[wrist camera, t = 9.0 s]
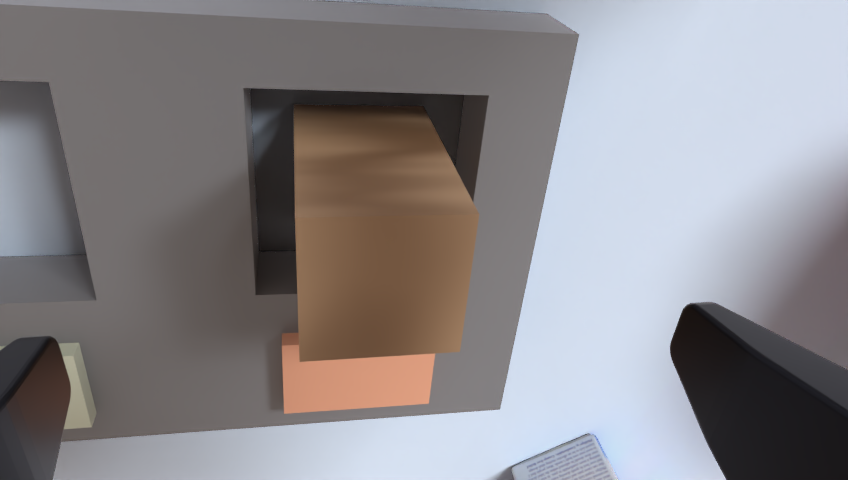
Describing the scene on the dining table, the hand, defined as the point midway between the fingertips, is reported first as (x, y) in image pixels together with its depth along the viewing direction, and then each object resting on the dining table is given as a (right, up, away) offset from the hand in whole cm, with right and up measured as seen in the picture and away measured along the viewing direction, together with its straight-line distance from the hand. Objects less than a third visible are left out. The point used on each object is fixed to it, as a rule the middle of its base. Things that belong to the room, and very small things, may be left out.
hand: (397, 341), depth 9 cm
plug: (-2, +4, +11) cm, 12 cm away
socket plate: (-7, +2, +11) cm, 14 cm away
